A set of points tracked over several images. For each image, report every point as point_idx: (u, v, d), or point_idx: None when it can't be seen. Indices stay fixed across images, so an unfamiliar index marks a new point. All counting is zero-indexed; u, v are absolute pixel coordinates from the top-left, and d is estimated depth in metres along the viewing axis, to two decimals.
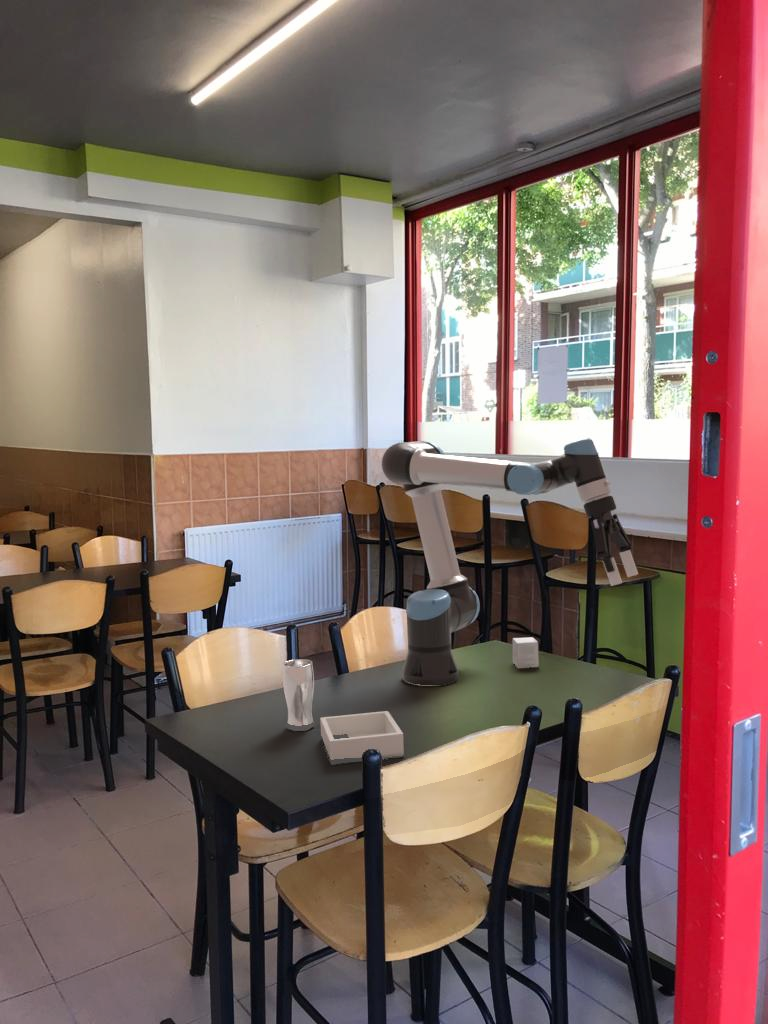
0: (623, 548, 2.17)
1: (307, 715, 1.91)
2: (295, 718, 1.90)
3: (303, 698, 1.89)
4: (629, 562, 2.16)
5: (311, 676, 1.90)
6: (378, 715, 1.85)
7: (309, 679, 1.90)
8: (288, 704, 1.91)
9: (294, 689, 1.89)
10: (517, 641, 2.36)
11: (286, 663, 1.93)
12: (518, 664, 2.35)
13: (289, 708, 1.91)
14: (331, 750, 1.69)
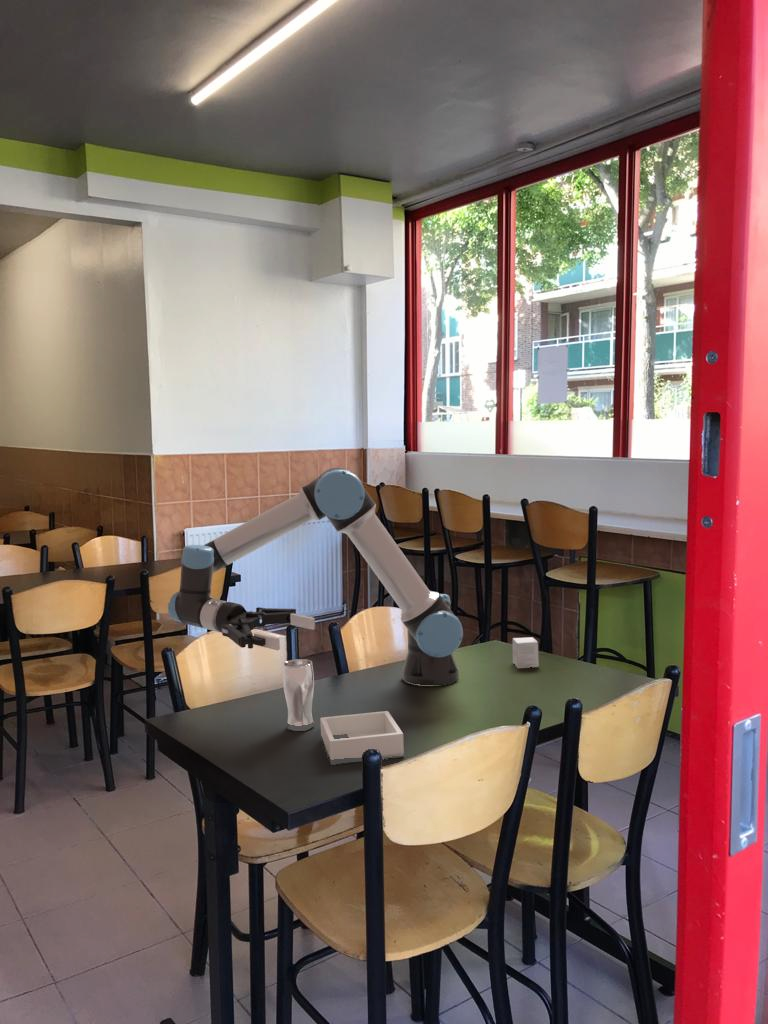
0: (289, 618, 2.01)
1: (307, 715, 1.91)
2: (295, 718, 1.90)
3: (303, 698, 1.89)
4: (300, 620, 1.99)
5: (311, 676, 1.90)
6: (378, 715, 1.85)
7: (309, 679, 1.90)
8: (288, 704, 1.91)
9: (294, 689, 1.89)
10: (517, 641, 2.36)
11: (286, 663, 1.93)
12: (518, 664, 2.35)
13: (289, 708, 1.91)
14: (331, 750, 1.69)
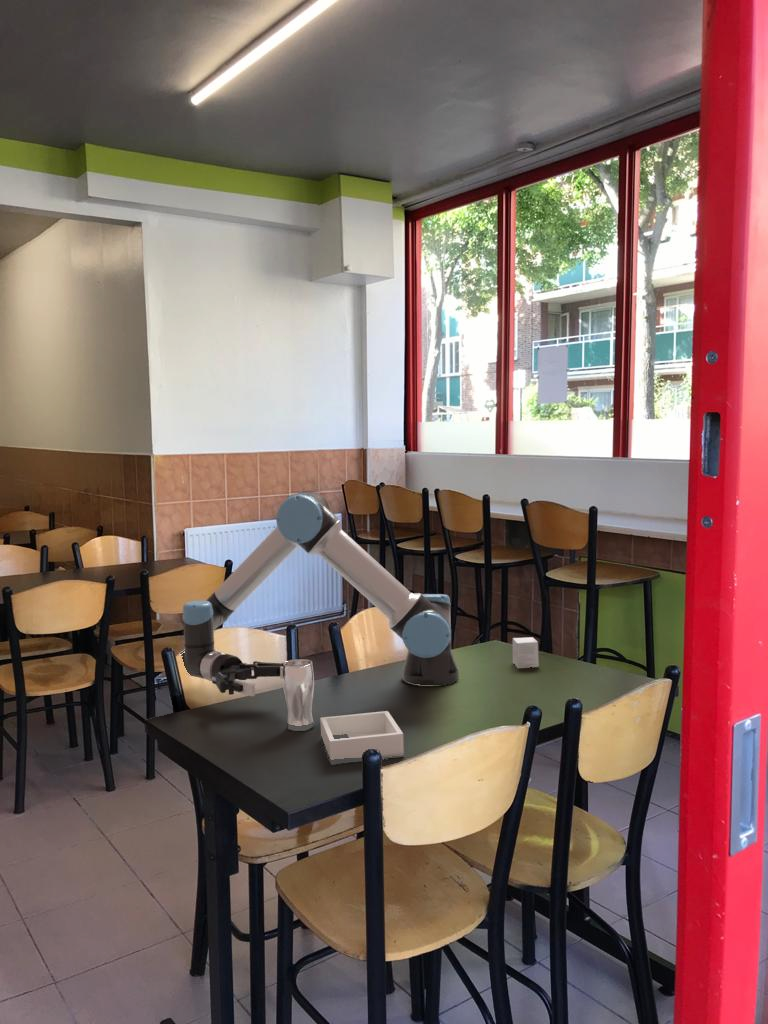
0: None
1: (307, 715, 1.91)
2: (295, 718, 1.90)
3: (303, 698, 1.89)
4: None
5: (311, 676, 1.90)
6: (378, 715, 1.85)
7: (309, 679, 1.90)
8: (288, 704, 1.91)
9: (294, 689, 1.89)
10: (517, 641, 2.36)
11: (286, 663, 1.93)
12: (518, 664, 2.35)
13: (289, 708, 1.91)
14: (331, 750, 1.69)
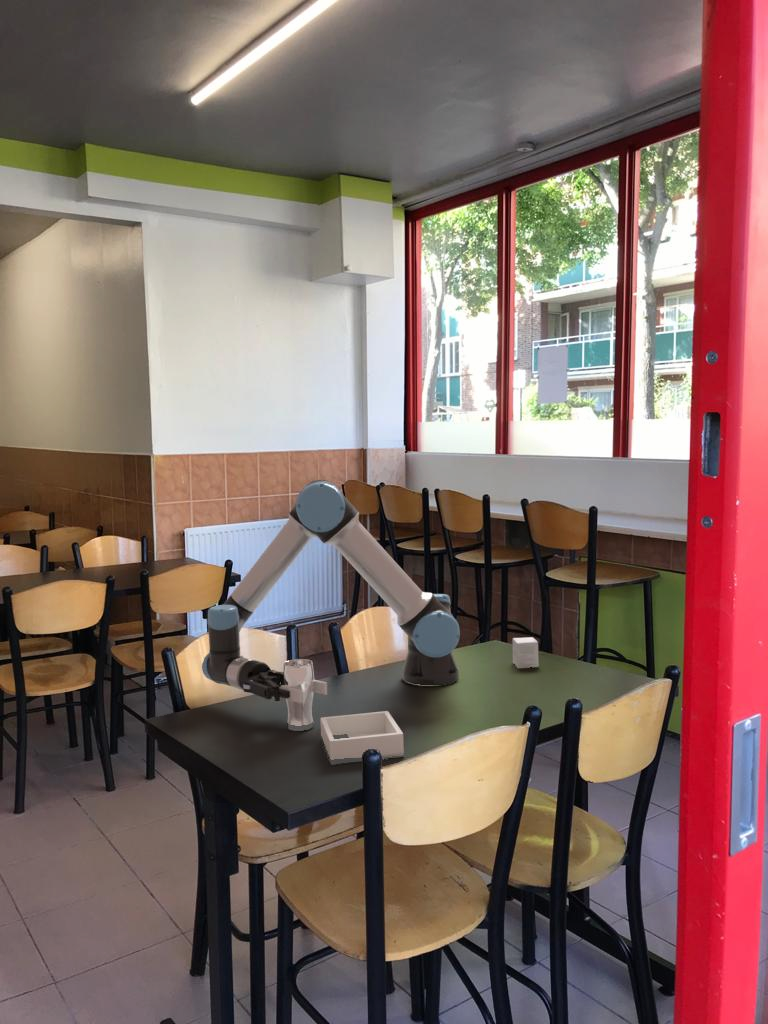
0: None
1: (307, 715, 1.91)
2: (295, 717, 1.90)
3: (303, 698, 1.89)
4: (314, 684, 1.93)
5: (311, 676, 1.90)
6: (378, 715, 1.85)
7: (309, 679, 1.90)
8: (288, 704, 1.91)
9: None
10: (517, 641, 2.36)
11: (286, 663, 1.93)
12: (518, 664, 2.35)
13: (289, 708, 1.91)
14: (331, 750, 1.69)
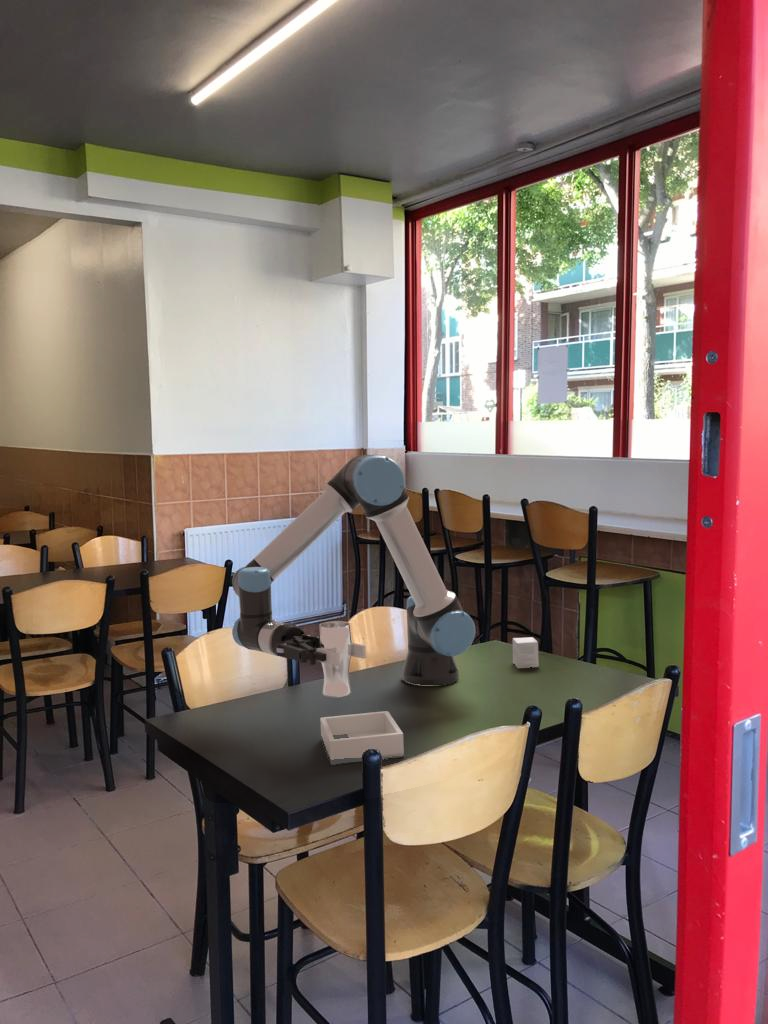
0: None
1: (344, 680, 1.80)
2: (331, 682, 1.79)
3: (340, 661, 1.78)
4: None
5: (349, 638, 1.79)
6: (378, 715, 1.85)
7: (347, 641, 1.78)
8: (324, 668, 1.79)
9: None
10: (517, 641, 2.36)
11: (322, 625, 1.82)
12: (518, 664, 2.35)
13: (325, 672, 1.80)
14: (331, 750, 1.69)
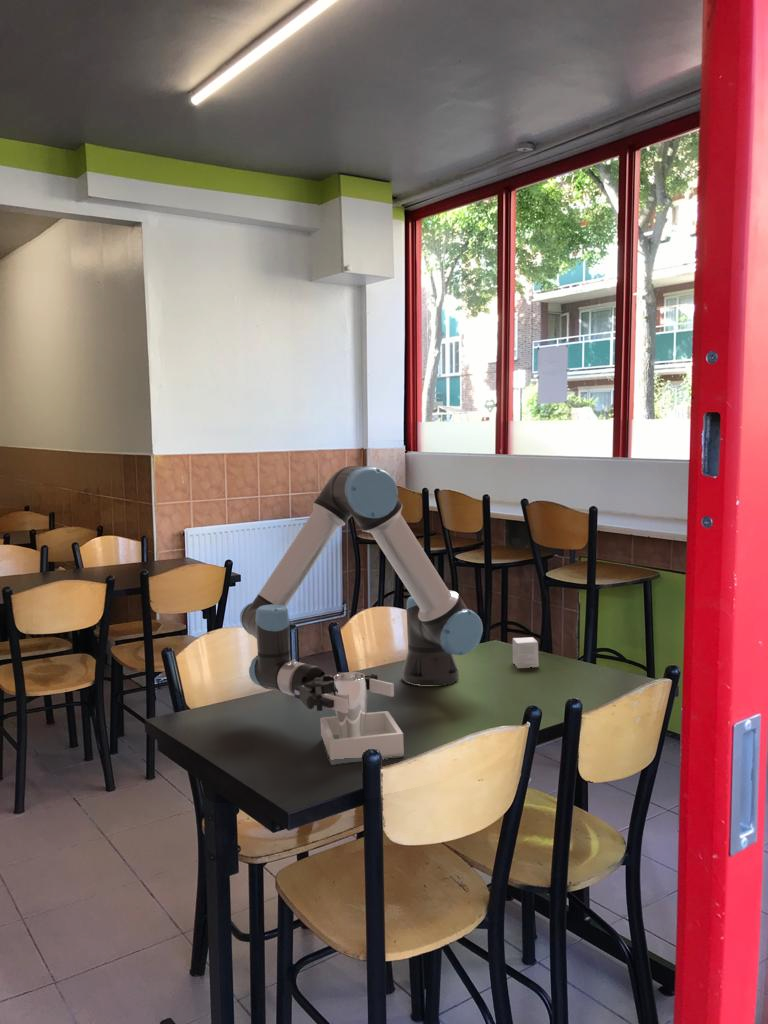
0: (369, 684, 1.85)
1: (360, 733, 1.75)
2: (347, 736, 1.74)
3: (356, 715, 1.73)
4: (379, 686, 1.82)
5: (364, 691, 1.74)
6: (378, 715, 1.85)
7: (362, 694, 1.73)
8: (339, 722, 1.75)
9: None
10: (517, 641, 2.36)
11: (336, 677, 1.77)
12: (518, 664, 2.35)
13: (341, 726, 1.75)
14: (331, 750, 1.69)
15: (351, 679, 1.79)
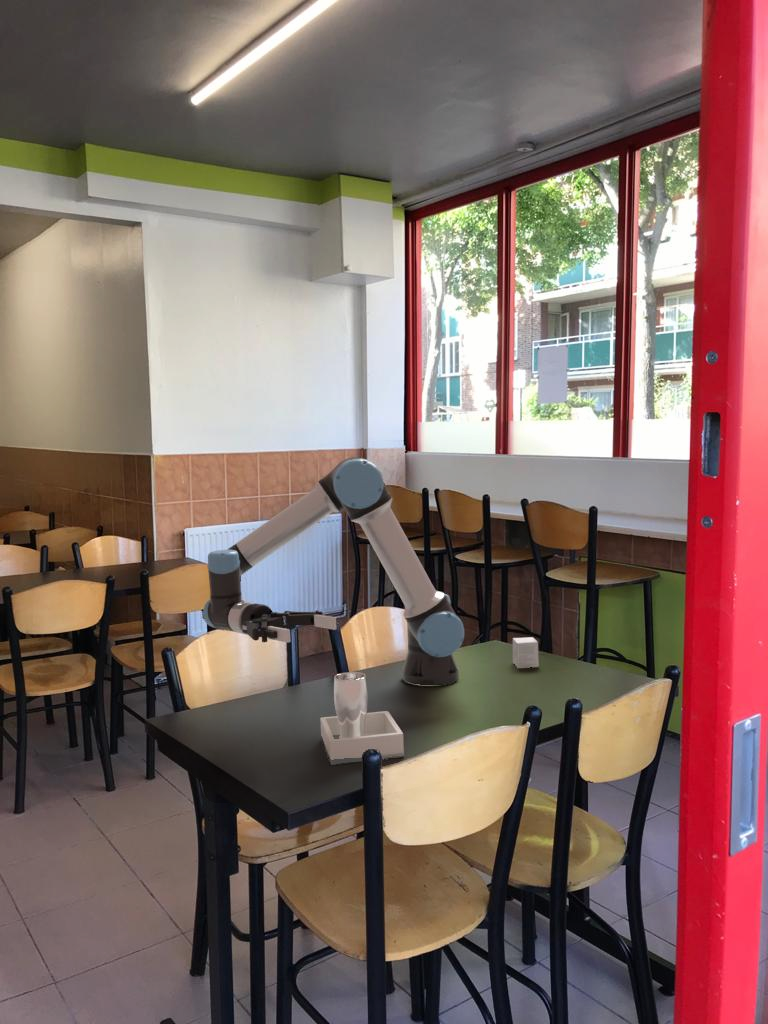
0: None
1: (360, 733, 1.75)
2: (347, 736, 1.74)
3: (356, 715, 1.73)
4: (323, 620, 1.93)
5: (365, 691, 1.74)
6: (378, 715, 1.85)
7: (363, 694, 1.74)
8: (340, 721, 1.75)
9: (346, 705, 1.73)
10: (517, 641, 2.36)
11: (337, 676, 1.77)
12: (518, 664, 2.35)
13: (341, 726, 1.75)
14: (331, 750, 1.69)
15: (352, 679, 1.79)
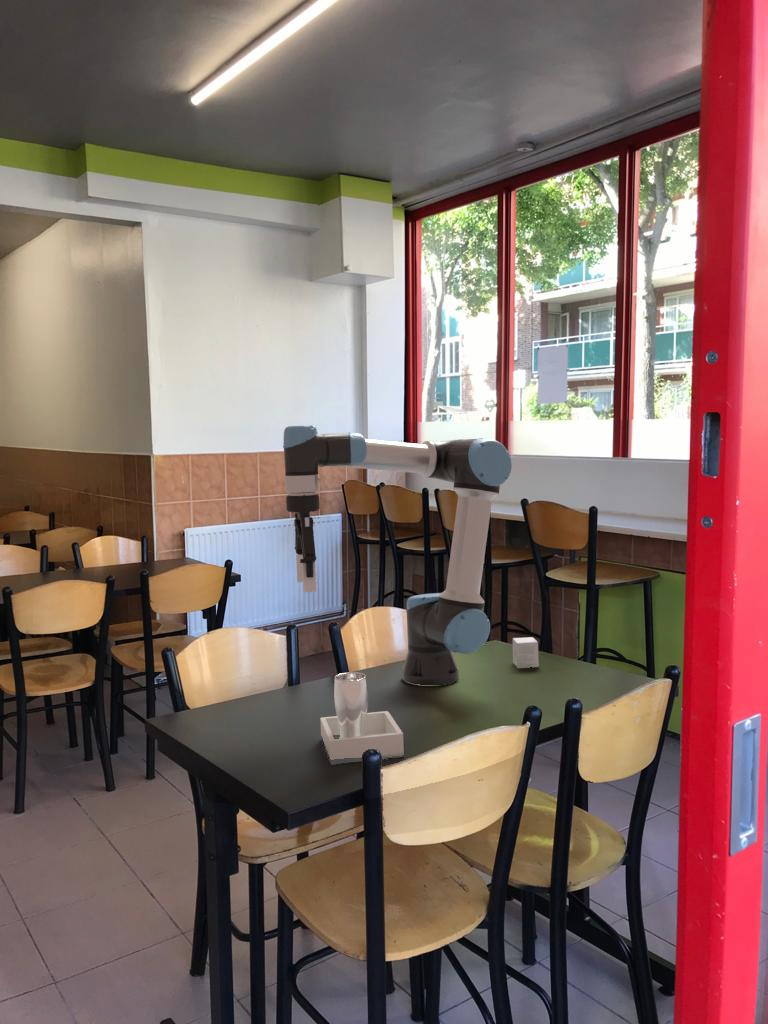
0: (301, 551, 2.00)
1: (360, 734, 1.75)
2: (347, 736, 1.74)
3: (356, 715, 1.73)
4: None
5: (365, 691, 1.74)
6: (378, 715, 1.85)
7: (363, 694, 1.74)
8: (340, 721, 1.75)
9: (347, 705, 1.73)
10: (517, 641, 2.36)
11: (337, 676, 1.77)
12: (518, 664, 2.35)
13: (341, 726, 1.75)
14: (331, 750, 1.69)
15: (352, 679, 1.79)
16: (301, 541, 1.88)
